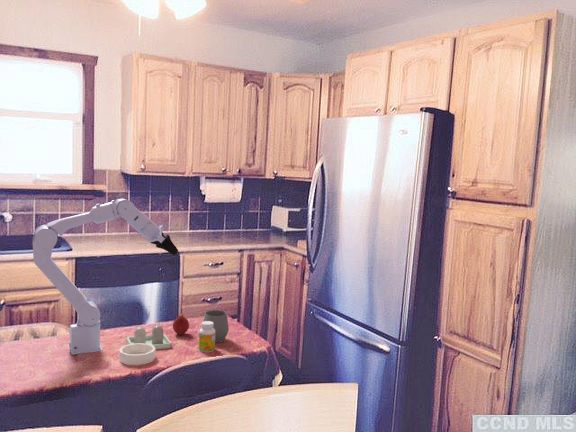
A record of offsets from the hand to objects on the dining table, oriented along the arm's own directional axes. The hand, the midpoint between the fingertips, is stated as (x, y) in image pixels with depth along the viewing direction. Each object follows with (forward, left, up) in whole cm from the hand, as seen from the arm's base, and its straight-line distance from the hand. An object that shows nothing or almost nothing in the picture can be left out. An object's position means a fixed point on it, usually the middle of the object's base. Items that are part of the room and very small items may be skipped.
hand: (173, 251), depth 187 cm
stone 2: (-6, -3, -31) cm, 32 cm away
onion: (+4, +4, -32) cm, 33 cm away
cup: (+14, -5, -32) cm, 35 cm away
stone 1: (-12, -3, -31) cm, 34 cm away
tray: (-9, -3, -32) cm, 33 cm away
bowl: (-15, -14, -32) cm, 38 cm away
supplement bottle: (+8, -14, -32) cm, 36 cm away
